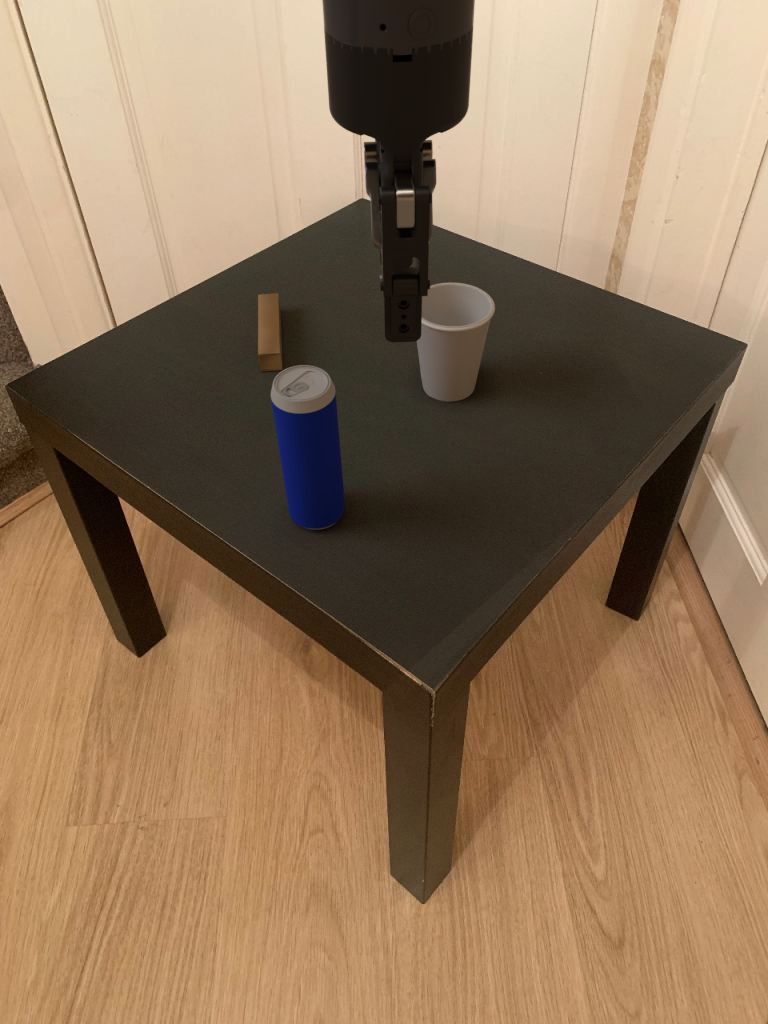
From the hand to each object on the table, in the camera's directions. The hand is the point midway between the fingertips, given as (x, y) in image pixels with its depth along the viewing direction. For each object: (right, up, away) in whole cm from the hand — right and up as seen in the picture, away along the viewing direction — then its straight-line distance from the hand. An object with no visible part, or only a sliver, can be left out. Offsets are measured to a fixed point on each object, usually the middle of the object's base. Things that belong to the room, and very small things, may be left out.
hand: (399, 300), depth 51 cm
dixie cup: (+6, 0, +34) cm, 35 cm away
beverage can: (-7, -14, +22) cm, 27 cm away
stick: (-14, +6, +40) cm, 43 cm away
